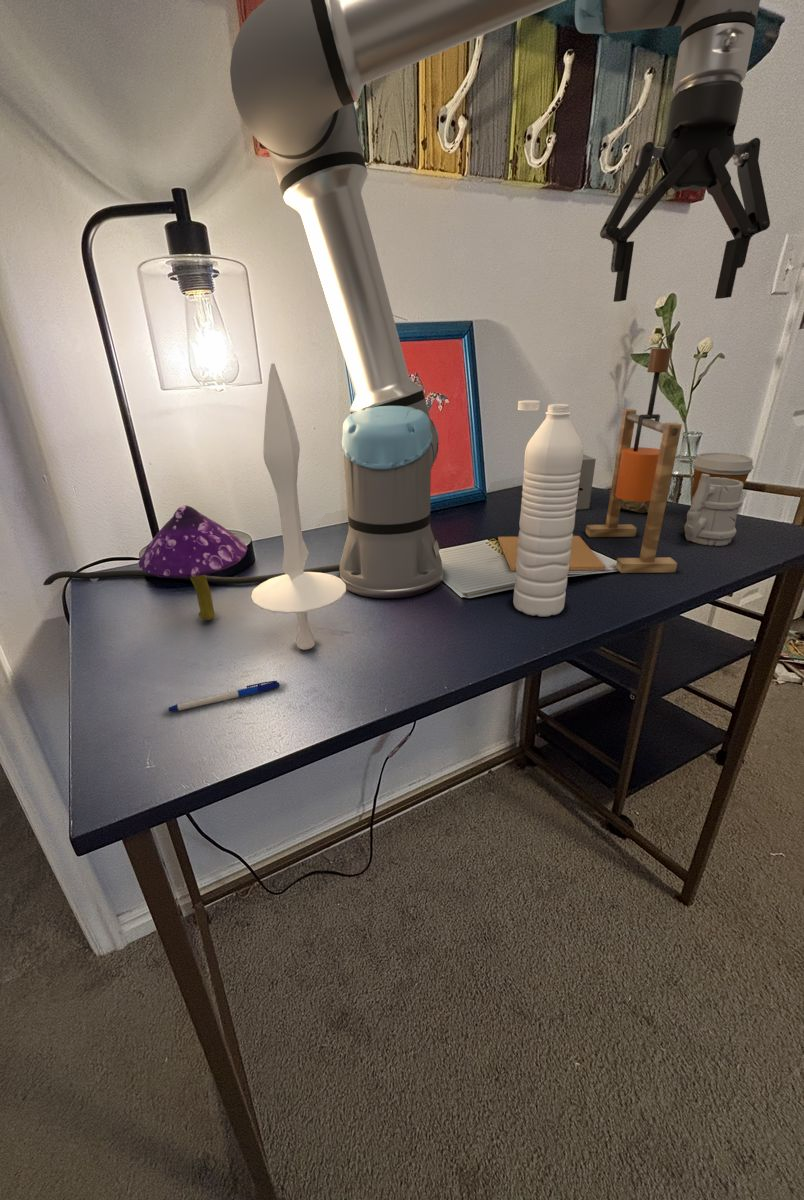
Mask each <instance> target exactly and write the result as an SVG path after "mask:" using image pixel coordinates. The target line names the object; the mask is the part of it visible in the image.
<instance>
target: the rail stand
mask: <svg viewBox="0 0 804 1200" xmlns="http://www.w3.org/2000/svg"><path fill="white" fill-rule="evenodd" d="M640 415H641V414H637V409H634V408H623V409H622V415H621V421H620V428H619V433H618V434H619V435H618V440H617V441H618V442H617V447H616V453H615V460H614V467H613V474H612V481H611V485H610V492H609V501H608V505H607V507H608V508H607V514H606V520H605V524H586V526H585V534H586V535H587V536H588V537H589V538H629V537H630V538H632V537H633V538H634V537H636V535H637V529H638V528H637V527H636V526H635V525H634V524H631V523H630V524H628V523H625V524H619V520H620V516H621V515H620V514H621V509H622V508H621V502H622V499H620V498H617V497H616V496H615V492H616V486H617V480H618V473H619V467H620V460H621V454H622V450H623V449H625V448H632V440H633V435H634V428H635V424H637V425H638V419H639V416H640ZM682 426H683V424H682V423H679V422H660V421H659V422H658V421H655V419H643V422H642V427H645V428H648V429H650V430H654V431H655V432H658V433H661V434H662V436H661V441H660V446H659V449H660V451H659V457H658V462H657V467H656V473H655V478H654V483H653V489H652V494H651V499H650V505H649V510H648V512H647V517H646V521H645V527H644V531H643V532H644V533H643V537H642V541H641V548H640V553H639V557H616V560H615V561H616V562H615V568H616V569H617V571H618V572H619V573H621V574H641V573H642V574H651V573H655V574H657V573H658V574H660V573H664V574H665V573H666V574H667V573H676V572H677V566H678V562H677V561H675V560H674V559H673V558H672V557H670V556H668V557H656V556H657V551H658V545H659V540H660V536H661V532H662V526H663V522H664V521H663V520H664V516H665V511H666V507H667V502H668V496H669V491H670V485H671V481H672V476H673V471H674V466H675V461H676V456H677V451H678V446H679V441H680V437H681V432H682Z"/></svg>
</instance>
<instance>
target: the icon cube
mask: <svg viewBox="0 0 804 1200" xmlns="http://www.w3.org/2000/svg"><path fill="white" fill-rule="evenodd" d="M596 461H597V458H595V457H591V456H589V455H586V454H585V453H583V461H582V466H581V470H580V473H581V474H580V478H579V479H580V482H579V485H578V486H579V490H578V492H577V493H578V497H577V505H576V511H577V510H579V511H580V510H587V509H588V510H589V509H590V503H591V498H592V497H591V496H592V489H593V484H594V483H593V482H594V475H595V467H596Z"/></svg>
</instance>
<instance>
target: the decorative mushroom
mask: <svg viewBox="0 0 804 1200" xmlns="http://www.w3.org/2000/svg"><path fill="white" fill-rule="evenodd" d="M247 550H248V546H247V545H246V543H245V542H244V541H243V540H241V539H240V538H239V537H237V536H236V535H235V534H234V533H233V532H231V531H229V530H228V529H227V528H225V527H223V526H222V525H221V524H219V523H218V522H216V521H214V520H213V519H211V518H209V517H208V516H206V515H204V514H202V513H201V512H199V511H198V510H197V509H195V507H193V506H190V505H181V506H179V507H178V508H177V509H176V511H174V513H173V515H172V517H171V518H170V519H169V520H168V521H167V522H166V523H165V524H164V525H163V526H162V528H161V529H160V530H159V531H158V532H157V533H156V534H155V536H154V537H152V539H151V541H150V542H149V543H148V545H147V546H146V548H145V550H144V552H143V554H142V555H141V557H140V558H139V561H138V567H139V568H140V569H141V570H144V571H145V572H147V573H148V574H150V575H154V576H158V577H157V578H163V577H165V578H164V579H173V578H184V577H190V579H191V580H190V581H191V583H192V585H193V586H194V590H195V593H196V597H197V603H198V608H199V612H198V617H199V619H201V620H202V621H211V620H213V619H214V617H215V616H216V615H215V614H216V612H215V608H214V603H213V597H212V592H211V588H210V585H209V582H207V579H206V577H205V575H206V576H207V575H211V574H214V573H217V572H221V571H223V570H226V569H229V568H230V567H233V566H234V565H236V564H238V563H239V562H241V561H242V560H243V559H244V558H245V556H246V554H247Z"/></svg>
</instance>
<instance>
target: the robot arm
mask: <svg viewBox="0 0 804 1200" xmlns="http://www.w3.org/2000/svg"><path fill="white" fill-rule="evenodd" d="M566 1H567V0H263V1H262V2H261V3H260V4H259V5H258V6H257V7H255V9H254V10H252V11H251V13H250V14H249V15H248V16H247V18H246V19H245V21H244V22H243V23H242V25H241V26H240V29H239V30H238V32H237V35H236V38H235V41H234V44H233V47H232V52H231V59H230V67H229V73H230V84H231V85H230V86H231V92H232V97H233V99H234V103H235V106H236V109H237V111H238V113H239V116H240V118H241V120H242V122H243V123H244V125H245V126H246V128H247V130H248V131H249V132H250V134H251V135H252V136H253V137H254V138H255V140H257V142H258V143H260V144H261V145H262V146H263V147H264V148H265V149H267V152H268V154H269V157H270V161H271V164H272V166H273V170H274V173H275V176H276V179H277V182H278V185H279V188H280V191H281V194H282V198H283V201H284V203H285V205H286V206H288V207H290V208H292V209H293V210H294V211H296V212H297V213H298V214H299V215H300V218H301V220H302V224H303V227H304V230H305V234H306V238H307V241H308V244H309V247H310V250H311V253H312V258H313V260H314V263H315V266H316V271H317V273H318V277H319V280H320V283H321V286H322V289H323V292H324V293H323V294H324V296H325V301H326V303H327V306H328V310H329V313H330V316H331V319H332V323H333V326H334V329H335V332H336V336H337V339H338V343H339V345H340V349H341V353H342V355H343V358H344V362H345V365H346V368H347V373H348V375H349V378H350V379H349V380H350V382H351V385H352V388H353V391H354V399H353V402H352V404H351V406H350V408H349V412H350V414H349V415H348V416H347V417H346V418H345V420H344V421H343V424H342V437H341V450H342V452H343V466H344V479H345V490H346V491H345V495H346V506H347V519H348V520H347V522H348V530H347V535H346V539H345V543H344V547H343V551H342V555H341V557H340V558H341V559H340V562H339V564H332V565H325V566H319V567H313V568H307V569H304V572H318V573H325V574H329V573H334V572H338V574H339V578H340V579H341V580H342V581H343V582H344V583H345V584H346V591H348V592H351V593H353V594H356V595H359V596H362V597H367V598H374V599H401V598H409V597H414V596H418V595H421V594H424V593H427V592H429V591H431V590H433V589H435V588H437V586H439V585H440V584H441V583H442V581H443V577H444V576H443V574H444V568H443V561H442V557H441V554H440V550H441V549H440V546H439V543H438V540H437V539H436V540H435V537H434V533H433V530H432V527H431V485H432V484H431V481H432V480H431V478H432V477H431V476H432V469H433V466H434V464H435V461H436V460H437V457H438V453H439V444H440V439H439V433H438V429H437V427H436V425H435V424H434V420H432V418H431V416H430V412H429V409H428V404H427V399H426V396H425V393H424V388H423V386H422V385H420V384H418V383H417V382H415V381H414V380H412V379H411V378H410V375H409V371H408V366H407V363H406V360H405V355H404V352H403V348H402V344H401V341H400V336H399V332H398V329H397V326H396V322H395V321H396V320H395V318H394V314H393V313H394V312H393V310H392V305H391V301H390V300H389V295H388V291H387V287H386V283H385V280H384V276H383V272H382V268H381V264H380V261H379V256H378V253H377V249H376V245H375V241H374V237H373V234H372V230H371V226H370V222H369V219H368V215H367V211H366V208H365V204H364V200H363V196H362V192H363V191H362V190H363V188H364V185H365V182H366V181H367V178H368V175H369V174H368V169H367V164H366V161H365V157H364V154H363V149H362V145H361V142H360V128H359V118H358V112H357V109H356V105H355V102H358V101H359V99H360V96H361V93H362V91H363V89H364V86H365V85H366V84H368V83H371V82H373V81H375V80H377V79H380V78H383V77H385V76H387V75H390V74H392V73H395V72H398V71H401V70H402V69H404V68H407V67H410V66H412V65H415V64H417V63H419V62H422V61H424V60H426V59H429V58H431V57H433V56H436V55H439V54H441V53H443V52H445V51H448V50H451V49H453V48H455V47H457V46H460V45H462V44H464V43H467V42H469V41H472V40H475V39H476V38H479V37H482V36H483V35H487V34H489V33H491V32H494V31H497V30H499V29H501V28H503V27H505V26H509V25H510V24H513V23H515V22H517V21H520V20H522V19H525V18H528V17H529V16H532V15H534V14H537V13H539V12H542V11H545V10H546V9H549V8H551V7H554V6H556V5H559V4H562V3H563V2H566ZM760 3H761V0H575V1H574V24H575V27H576V30H577V31H578V33H581V34H587V35H588V34H589V35H590V34H593V35H595V34H596V35H597V34H598V35H603V36H608V35H610V34H615V33H623V32H633V31H641V30H650V29H659V28H672V27H679V26H680V27H681V30H680V31H681V32H680V39H679V45H678V55H677V59H676V66H675V72H674V77H673V84H672V93H673V94H674V96H673V97H672V99H671V101H670V104H669V111H668V112H669V113H668V118H667V125H666V131H665V141H664V144H663V146H659V145H654V142H652V141H647V142H646V143H645V144H643V145H642V146H641V147H640V148H639V149H638V150H637V151H636V154H635V158H634V161H633V167H632V171H631V173H630V175H629V176H628V179H627V180H626V183H625V184H624V186H623V188H622V190H621V192H620V194H619V195H618V197H617V199H616V201H615V203H614V205H613V207H612V209H611V211H610V212H609V215H608V216H607V218H606V220H605V222H604V224H603V226H602V227H601V230H600V232H599V237H600V238H601V239H602V240H605V239H606V240H607V241H609V242H611V245H613V246H612V255H611V263H610V272H611V273H616V280H615V287H614V295H613V302H615V303H616V302H624V301H627V297H628V288H629V281H630V274H631V267H632V261H633V253H634V245H635V241H633V240H631V241H628V239H629V238H630V237H631V236H632V234H633V233H634V232H635V231H636V230H637V228H638V227H639V226H640V225H641V224H642V222H643V221H644V220H645V218H646V217H647V216H648V215H649V214H650V213H651V211H652V210H653V209H654V208H655V207H656V206H657V204H658V203H659V202H660V201H661V200H662V199H663V197H664V196H665V195H666V193H668V192H669V190H670V189H672V190H673V192H682V191H685V190H689V191H693V192H697V191H698V192H699V191H701V190H704V189H705V190H706V192H707V194H709V195H710V196H711V197H712V199H713V201H714V203H715V204H716V207H717V208H718V211H719V213H720V214H721V216H722V218H723V220H724V222H725V224H726V225H727V228H728V229H729V231H730V233H731V235H732V237H733V238H734V239H731V240H727V241H726V242H725V247H724V252H723V256H722V261H721V266H720V271H719V276H718V281H717V287H716V291H715V296H714V299H715V300H717V299H727V298H732V295H733V290H734V285H735V281H736V276H737V272H738V269H740V268H743V267H744V265H745V264H746V260H747V254H748V251H749V245H750V242H751V239H752V238H753V236H755V235H756V234H757V235H758V234H759V233H761V232H764V231H767V230H768V229H769V228H770V226H771V219H770V214H769V208H768V204H767V199H766V194H765V193H766V192H765V189H764V184H763V178H762V173H761V167H760V163H759V158H760V149H761V139H760V137H754V138H752V139H750V140H748V141H746V142H740V143H735V139H734V134H735V130H736V127H737V124H738V118H739V113H740V108H741V104H742V99H743V93H744V87H743V85H742V84H741V83H742V82H743V81H744V80H745V78H746V77H747V72H748V66H749V61H750V56H751V51H752V46H753V41H754V36H755V29H756V24H757V18H758V13H759V8H760ZM731 159H732V160H733V165H735V166H736V171H737V173H736V174H737V179H738V184H739V188H740V194H741V199H742V202H743V203H742V202H741V200H740V198H739V196H738V194H737V192H736V190H735V188H734V186H733V184H732V177H731V174H730V173H729V170H728V169H727V166H726V165H727V164H728V162H730V160H731ZM657 161H658V163H659V165H660V168H661V170H662V172H663V175H662V176H661V178H659V180H658V181H657V182H656V183H655V185H654V186H653V187H652V189H651V190H650V192H649V193H648V194H647V195H646V196H645V197H644V199H643V200H642V202H641V203H639V205H638V206H637V208H636V209H635V210H634V211H633V212H632V213H631V215H630V216H629V217H628V218H627V219H626V221H625V222H624V223H623V224H622V226H621V227H619V225H620V223H621V221H622V220H623V218H624V216H625V214H626V212H627V210H628V208H629V207H630V205H631V203H632V201H633V199H634V197H635V195H636V194H637V192H638V191H639V188H640V186H641V184H642V183H643V181H644V179H645V177H646V175H647V173H648V171H649V170H650V169H651V168H652V167H653V166H654V165H655V164H656V162H657ZM285 574H286V573H283V572H279V573H272V574H265V575H264V574H263V575H255V576H254V575H253V576H235V577H234V576H233V577H232V576H214V575H207V574H206V575H205V577H206V579H207V582H208V583H212V584H213V583H214V584H224V585H243V584H258V583H263V582H265V581H267V580H269V579H271V578H274V577H278V576H281V575H285ZM127 577H129V578H130V577H132V578H133V577H149V578H159V577H158V576H154V575H150V574H148V573H147V572H145V571H144V570H142V569H141V570H140V569H138V570H137V569H132V570H130V569H129V570H127V569H126V570H111V571H109V570H108V571H97V572H96V571H95V572H85V571H84V572H83V571H72V570H63V571H58V572H55V573H53V574H51V575H49V576H48V577H47V578H46V579H45V580H44V582H43V584H42V585H43V586H50V585H52V584H53V583H54V582H56V581H57V580H59V579H64V578H65V579H68V578H69V579H70V578H71V579H80V580H81V579H83V580H95V579H111V578H127ZM162 578H163V579H166V578H165V577H162ZM172 579H175V580H184V581H191V579H190V577H184V578H172Z"/></svg>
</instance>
